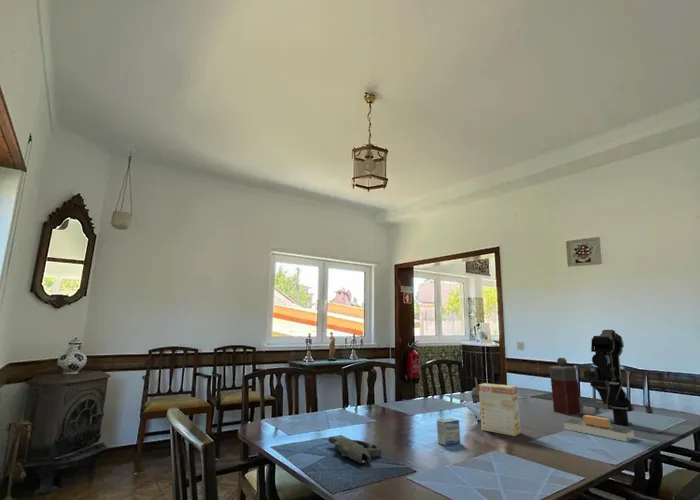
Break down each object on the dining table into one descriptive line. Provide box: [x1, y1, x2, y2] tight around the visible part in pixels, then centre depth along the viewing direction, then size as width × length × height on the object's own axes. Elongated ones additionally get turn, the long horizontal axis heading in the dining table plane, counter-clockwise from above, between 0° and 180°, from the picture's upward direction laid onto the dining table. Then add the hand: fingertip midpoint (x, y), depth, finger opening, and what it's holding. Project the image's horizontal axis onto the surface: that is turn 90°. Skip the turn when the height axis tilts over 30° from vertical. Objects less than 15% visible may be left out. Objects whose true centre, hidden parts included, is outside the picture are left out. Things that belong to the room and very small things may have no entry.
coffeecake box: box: [478, 382, 522, 437], centre depth 172 cm, size 15×7×20 cm, turn 47°
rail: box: [563, 419, 635, 443], centre depth 167 cm, size 8×24×3 cm, turn 37°
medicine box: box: [436, 418, 461, 447], centre depth 155 cm, size 8×4×9 cm, turn 117°
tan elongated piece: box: [328, 436, 382, 464], centre depth 143 cm, size 5×25×15 cm
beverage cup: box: [470, 377, 480, 420], centre depth 192 cm, size 7×7×20 cm
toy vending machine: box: [549, 357, 582, 416], centre depth 208 cm, size 9×11×28 cm
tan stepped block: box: [582, 414, 611, 429], centre depth 167 cm, size 4×9×6 cm, turn 37°
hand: (609, 402), depth 169 cm, fingers open, 9 cm apart
